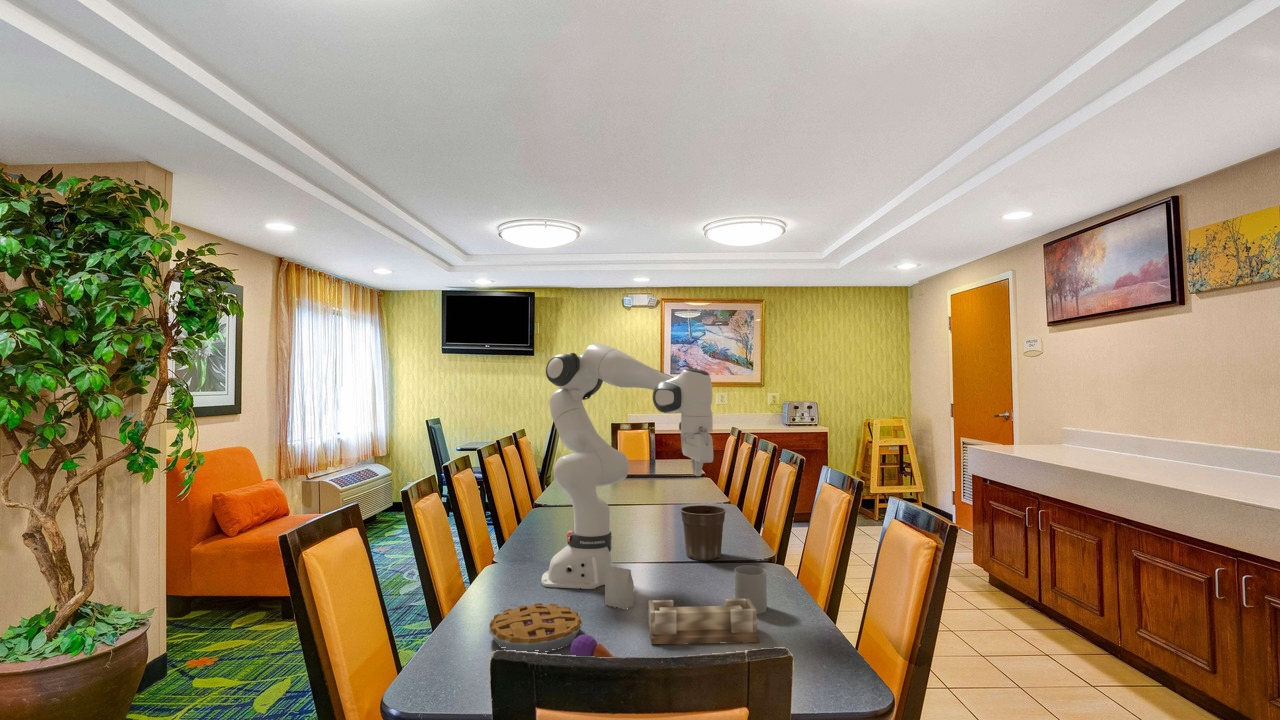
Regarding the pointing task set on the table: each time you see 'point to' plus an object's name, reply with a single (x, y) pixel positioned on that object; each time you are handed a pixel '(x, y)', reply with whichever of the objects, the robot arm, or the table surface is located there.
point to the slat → (702, 617)
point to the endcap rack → (665, 630)
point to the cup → (751, 586)
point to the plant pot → (703, 531)
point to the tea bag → (619, 588)
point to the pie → (535, 628)
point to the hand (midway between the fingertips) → (697, 475)
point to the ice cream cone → (588, 647)
